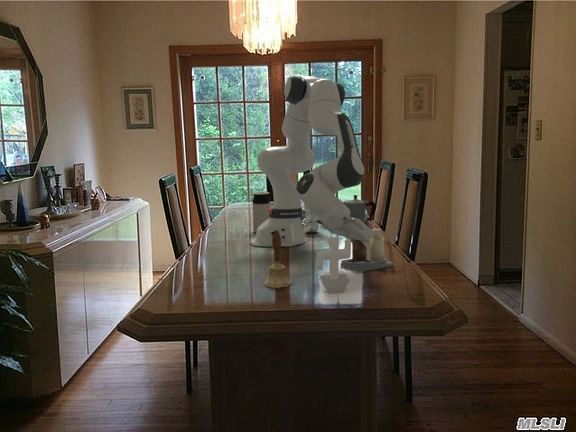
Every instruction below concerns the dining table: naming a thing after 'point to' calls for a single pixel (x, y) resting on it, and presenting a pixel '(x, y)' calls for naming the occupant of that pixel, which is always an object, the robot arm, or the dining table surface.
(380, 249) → the cruet stand
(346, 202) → the coffeepot
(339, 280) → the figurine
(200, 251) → the dining table surface
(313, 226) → the plastic bottle
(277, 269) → the hand bell
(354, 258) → the pepper mill
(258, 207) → the travel mug
